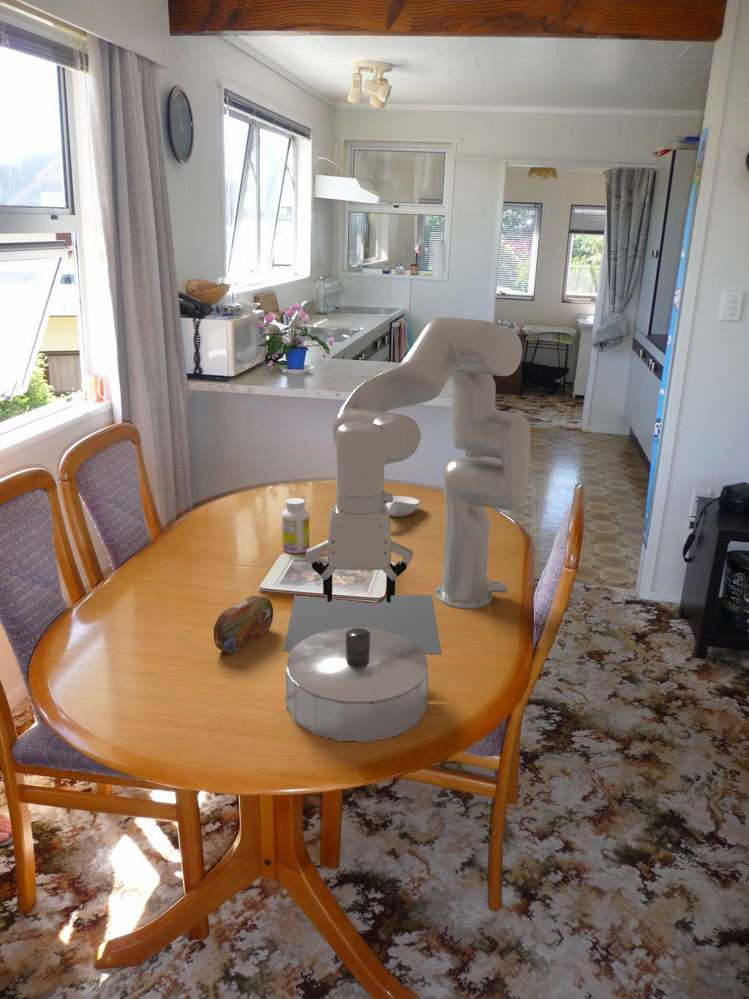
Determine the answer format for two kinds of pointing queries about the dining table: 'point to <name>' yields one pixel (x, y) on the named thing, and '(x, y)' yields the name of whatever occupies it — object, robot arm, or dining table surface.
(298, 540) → the supplement bottle
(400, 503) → the spoon rest
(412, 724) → the lidded metal pot
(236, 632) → the tin
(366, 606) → the rubber mat
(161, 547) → the dining table surface
